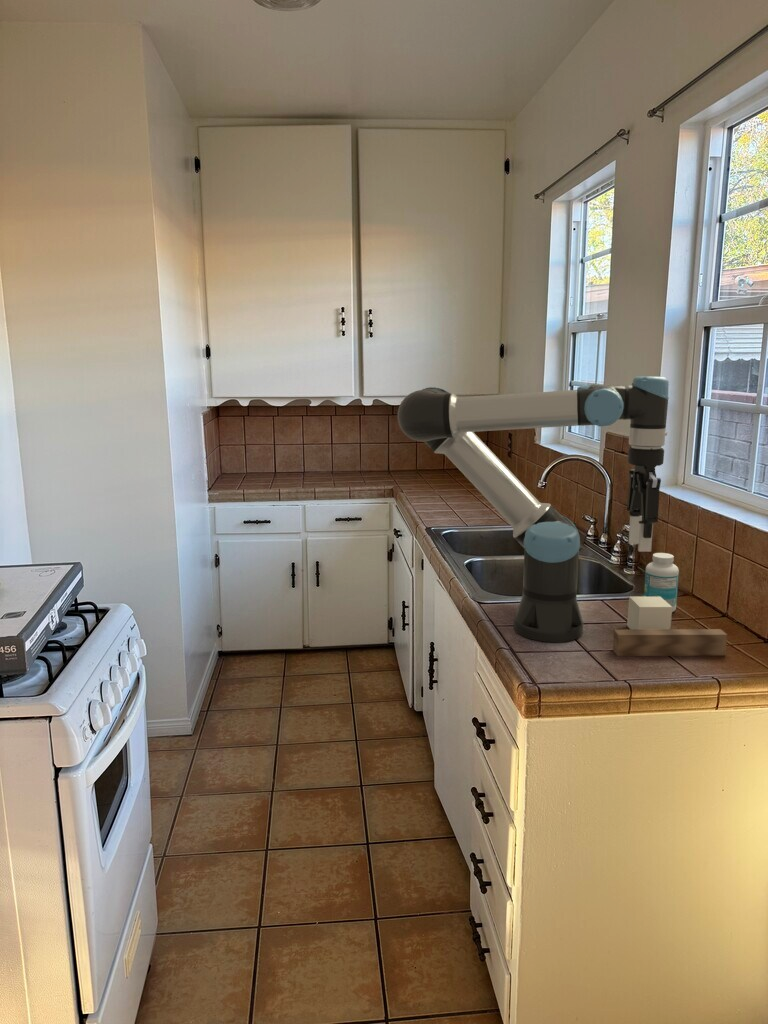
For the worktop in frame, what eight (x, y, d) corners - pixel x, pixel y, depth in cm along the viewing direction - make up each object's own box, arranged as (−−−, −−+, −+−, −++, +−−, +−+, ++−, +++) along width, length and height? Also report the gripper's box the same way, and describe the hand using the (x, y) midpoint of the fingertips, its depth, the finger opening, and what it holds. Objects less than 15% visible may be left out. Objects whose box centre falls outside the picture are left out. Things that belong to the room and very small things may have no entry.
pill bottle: (649, 602, 181) (653, 549, 179) (680, 608, 177) (684, 554, 174) (638, 610, 176) (642, 555, 173) (669, 616, 171) (674, 561, 168)
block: (637, 637, 159) (639, 607, 157) (627, 626, 166) (629, 596, 164) (669, 637, 159) (672, 606, 157) (658, 625, 166) (660, 596, 164)
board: (617, 655, 149) (618, 635, 148) (612, 650, 152) (614, 629, 151) (725, 655, 149) (727, 634, 148) (718, 649, 152) (720, 629, 151)
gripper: (680, 452, 153) (671, 558, 158) (648, 441, 172) (641, 537, 177) (644, 452, 153) (637, 558, 158) (616, 441, 172) (610, 537, 177)
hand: (639, 547), depth 168 cm, fingers open, 6 cm apart
